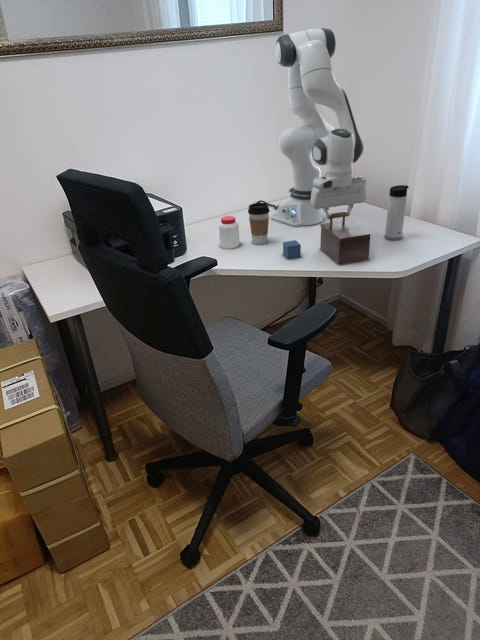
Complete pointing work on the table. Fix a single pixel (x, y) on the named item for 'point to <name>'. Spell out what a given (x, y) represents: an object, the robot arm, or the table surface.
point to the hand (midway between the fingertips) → (337, 217)
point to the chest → (345, 248)
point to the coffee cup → (259, 222)
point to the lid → (344, 228)
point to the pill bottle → (229, 232)
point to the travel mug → (396, 212)
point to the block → (291, 249)
